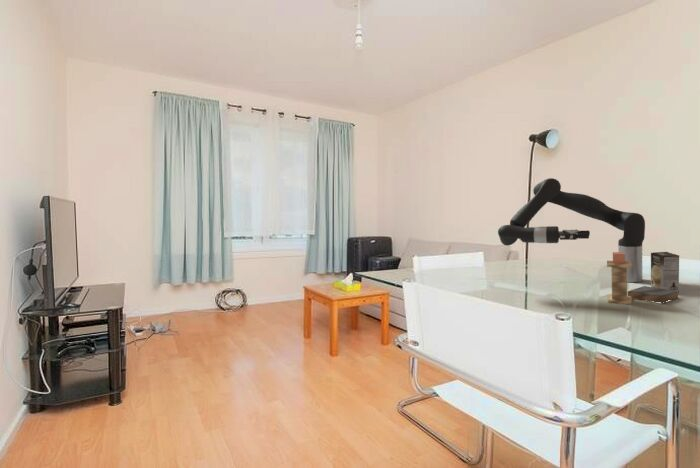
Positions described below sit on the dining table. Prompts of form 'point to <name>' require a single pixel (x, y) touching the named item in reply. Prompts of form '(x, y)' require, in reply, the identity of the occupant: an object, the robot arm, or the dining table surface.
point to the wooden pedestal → (619, 283)
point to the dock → (653, 294)
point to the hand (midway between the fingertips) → (589, 234)
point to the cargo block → (618, 257)
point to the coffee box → (665, 271)
